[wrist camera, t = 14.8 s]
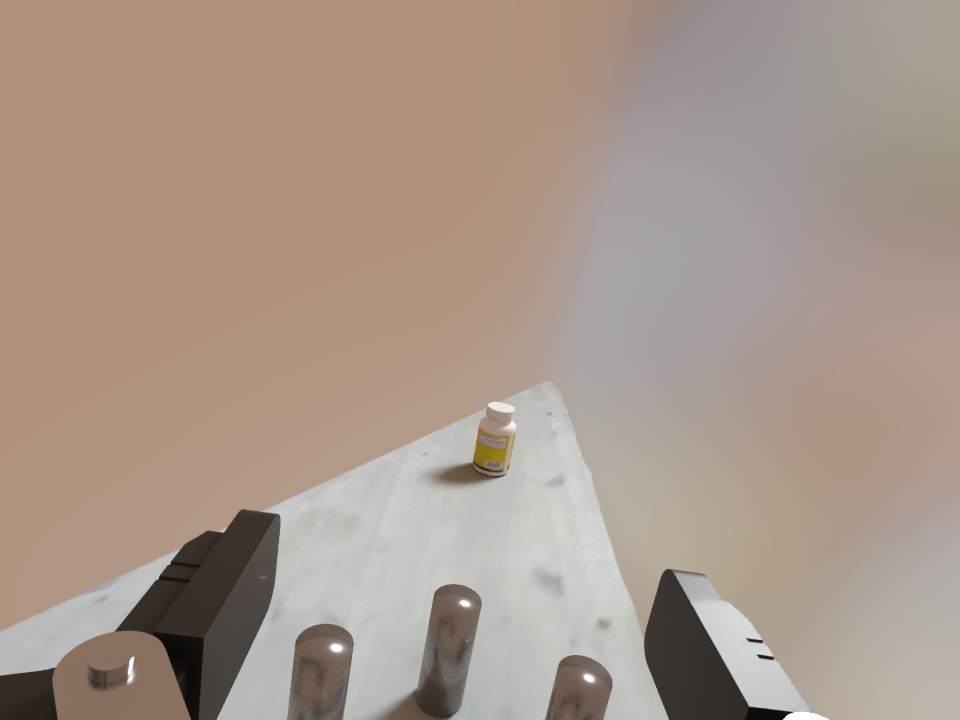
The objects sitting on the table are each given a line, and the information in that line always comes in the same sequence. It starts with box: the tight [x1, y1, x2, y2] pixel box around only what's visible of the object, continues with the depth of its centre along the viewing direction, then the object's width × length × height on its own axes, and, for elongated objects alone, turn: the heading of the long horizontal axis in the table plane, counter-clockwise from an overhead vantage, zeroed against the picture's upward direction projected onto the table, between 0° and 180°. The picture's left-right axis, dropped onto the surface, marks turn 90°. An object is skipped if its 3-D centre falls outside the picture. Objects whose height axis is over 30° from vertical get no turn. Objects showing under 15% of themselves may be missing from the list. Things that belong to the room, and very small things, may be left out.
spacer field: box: [287, 584, 612, 720], centre depth 40 cm, size 16×23×9 cm
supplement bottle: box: [473, 402, 516, 476], centre depth 87 cm, size 5×5×10 cm
